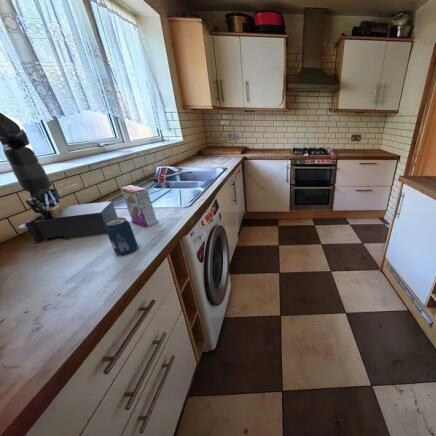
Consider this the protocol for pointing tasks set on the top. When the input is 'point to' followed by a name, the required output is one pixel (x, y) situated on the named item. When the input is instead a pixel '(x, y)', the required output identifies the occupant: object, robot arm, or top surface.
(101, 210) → the low dark rectangular box
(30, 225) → the dark grey drawer
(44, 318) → the top surface
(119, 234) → the soda can
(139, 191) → the candy bar box
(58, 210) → the block
